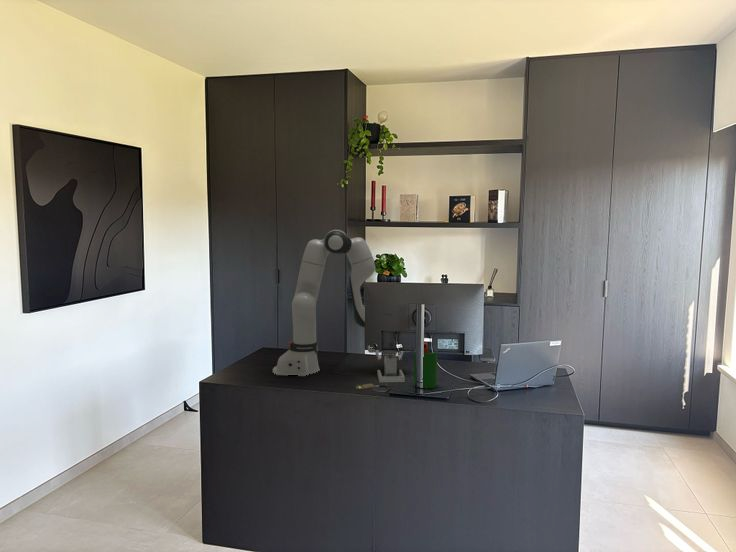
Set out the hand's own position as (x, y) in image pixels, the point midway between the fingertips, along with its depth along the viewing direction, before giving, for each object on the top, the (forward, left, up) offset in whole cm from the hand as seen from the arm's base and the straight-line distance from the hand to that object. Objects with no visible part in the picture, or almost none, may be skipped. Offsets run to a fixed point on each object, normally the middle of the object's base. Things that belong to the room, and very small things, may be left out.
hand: (389, 359), depth 246 cm
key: (-13, -15, -8) cm, 21 cm away
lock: (0, -2, -8) cm, 9 cm away
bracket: (0, -2, -8) cm, 8 cm away
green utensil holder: (+14, -14, -8) cm, 22 cm away
